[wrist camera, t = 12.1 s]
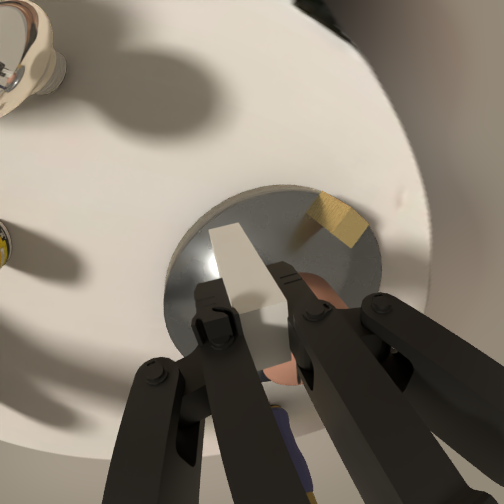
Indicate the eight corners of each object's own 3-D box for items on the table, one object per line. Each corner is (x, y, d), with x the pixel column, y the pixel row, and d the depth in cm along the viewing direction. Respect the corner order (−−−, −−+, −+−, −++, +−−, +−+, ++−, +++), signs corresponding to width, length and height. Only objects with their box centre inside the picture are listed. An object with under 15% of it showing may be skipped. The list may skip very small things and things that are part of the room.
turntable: (130, 328, 23) (122, 381, 18) (252, 133, 19) (281, 137, 13) (287, 380, 32) (304, 420, 26) (397, 255, 27) (436, 285, 21)
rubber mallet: (229, 427, 36) (281, 596, 10) (227, 403, 32) (289, 606, 6) (306, 411, 38) (376, 562, 12) (315, 386, 35) (403, 560, 9)
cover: (228, 329, 23) (243, 386, 17) (286, 255, 21) (321, 303, 15) (295, 353, 26) (318, 401, 21) (348, 294, 24) (385, 337, 19)
